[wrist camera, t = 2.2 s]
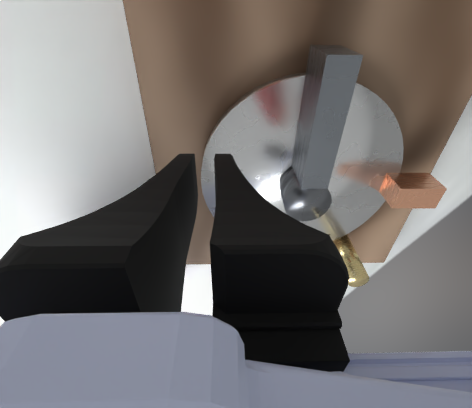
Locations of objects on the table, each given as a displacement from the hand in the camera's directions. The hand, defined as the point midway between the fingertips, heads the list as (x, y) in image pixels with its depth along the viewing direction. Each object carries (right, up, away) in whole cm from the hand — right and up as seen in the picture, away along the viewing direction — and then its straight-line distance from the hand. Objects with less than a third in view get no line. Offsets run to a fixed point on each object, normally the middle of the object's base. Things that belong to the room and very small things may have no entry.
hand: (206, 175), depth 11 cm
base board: (+6, +2, +10) cm, 12 cm away
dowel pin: (+10, -4, +13) cm, 17 cm away
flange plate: (+7, +2, +8) cm, 11 cm away
